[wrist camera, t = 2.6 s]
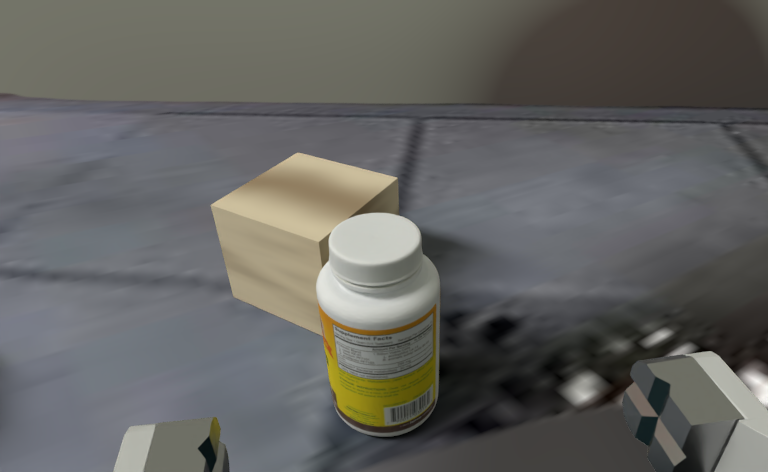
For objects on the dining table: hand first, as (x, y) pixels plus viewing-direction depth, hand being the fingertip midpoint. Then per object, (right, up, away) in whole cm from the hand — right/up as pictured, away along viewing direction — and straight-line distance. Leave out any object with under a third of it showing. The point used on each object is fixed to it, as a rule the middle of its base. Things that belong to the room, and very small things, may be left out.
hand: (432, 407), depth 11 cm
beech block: (-5, 0, +27) cm, 27 cm away
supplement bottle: (-1, -5, +18) cm, 19 cm away
